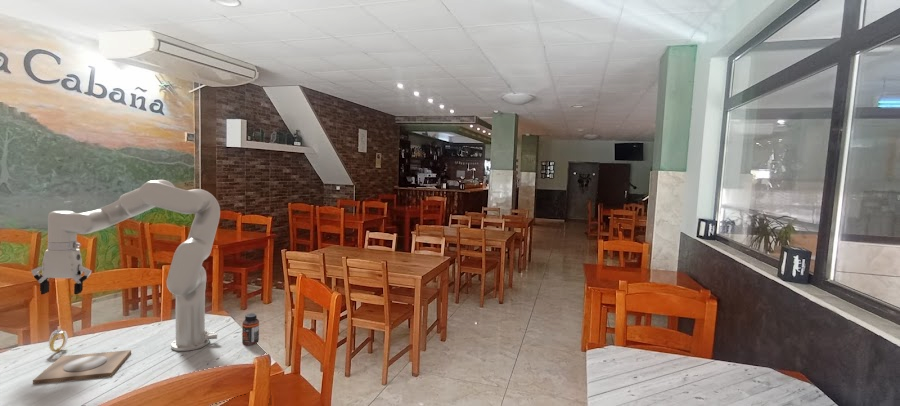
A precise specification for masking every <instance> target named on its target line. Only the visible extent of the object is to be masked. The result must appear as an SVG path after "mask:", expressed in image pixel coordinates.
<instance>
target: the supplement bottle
mask: <svg viewBox="0 0 900 406" xmlns="http://www.w3.org/2000/svg"><path fill="white" fill-rule="evenodd" d="M244 318H245V319H244V320H243V321H242V330H241V331H242V332H241V334H242V335H241V339H242V341H241V343H242V344H243V345H244V346H253V345H256V344H257V343H259V340H260V320H259V319H258V318H257V314H256V313H253V312H251V313H247V314H245V317H244Z"/></svg>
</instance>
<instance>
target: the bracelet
mask: <svg viewBox="0 0 900 406" xmlns="http://www.w3.org/2000/svg"><path fill="white" fill-rule="evenodd" d="M59 336H61V337H62V339H63V340H62V344H61V346H59V347H58V348H56V349H55V342H56V340H57V339H58V337H59ZM68 337H69V336H68V332H67V331H66V330H63V329H62V328H59V329H55V330H54V331H52V332H51V334H50V335H49V340H48V348H49V350H50V351H51V352H54V353H58V352H59V353H60V352H61V350H63V349H64V348H65V347H66V345H67V343H68Z"/></svg>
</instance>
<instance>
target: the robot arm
mask: <svg viewBox="0 0 900 406" xmlns="http://www.w3.org/2000/svg"><path fill="white" fill-rule="evenodd" d="M154 208H158V209H159V208H160V209H163V210H167V211H171V212H175V213H179V214H183V215H192V214H193V215H194V214H195V215H194V218H193V221H192V223H191V226H190V230H189V233H188V237H187V239H186V240H185V241H183V242H182V243H179V245H178V246H177V247H176V250H174V254H173V256H172V261H171V263H170V267H169V270H168V274H167V278H166V287H167V290H168V291H169V292H170V294H173V295H174V296H175V339H174V340H173V341H172V342H171V343H170V348H171V349H172V350H173V351H177V352H187V351H189V352H190V351H193V350H194V351H195V350H197V349H201V348H203V347H205V346H207V345H208V344H209V343H210V340H217V339H218V333H216V332H215V331H214V332H213V331H212V332H208V330H207V328H205V327H206V323H205V321H206V319H205V318H206V317H205V316H206V307H205V306H206V304H205V303H206V285H207V270H206V268H205V267H204V266H203V263H204V261H205V260H207V259H208V258H209V257H210V255H211V253H212V249H213V245H214V242H215V238H216V234H217V230H218V226H219V224H220V223H219V222H220V218H221V207H220V204H219V202H218V199H216V197H215V196H214V195H213V194H212V193H210V192H209V191H207V190H205V189H201V188H195V189H194V188H193V189H188V190H187V189H183V188H179V187H176V186H175V185H174V184H173V183H172V182H171V181H169V180H166V179H157V180H156V179H154V180H149V181H146V182H145V183H143V184H142V185H141V186H140V187H138V188H136V189H133V190H131V191H128V192H125V193H124V194H121V195H120V196H119V199H117V200H116V201H114V202H112V203H109V204H107V205H104V206H102V207H99V208H97V209H94V210H89V211H85V212H75V211H72V210H53V211H50V212H49V213H48V216H47V249H46V250H45V251H44V254H43V259H42V263H41V265H40V266H38V267H36V268H33V269H31V270H30V272H31V274H32V276H33V277H34V279H35V280H37V282H38V283H39V290H40V294H41V295H45V294H47V293H49V292H50V280H49V279H72V280H73V281H74V282H75V283H74V285H73V286H74V288H73V290H74V291H73V293H74V295H76V296H77V295H79V294H81V293H83V292H82V291H83V289H84V286H83V285H84V284H83V283H84V282H85V281H86V280H87V279H88V278H89V277H90V275H91V274H92V272H93V270H91V269H89V268H87V267H85V266H83V258H82V253H81V250H80V247H81V246H82V243H80V242H78V240H77V239H78V237H77V236H78V234H80V235H88V234H92V233H95V232H98V231H101V230H105V229H107V228H110V227H112V226H114V225H117V224H119V223H121V222H124V221H125V220H128V219H130V218H134V217H136V216H138V215H140V214H143V213H145V212H148V211H149V210H152V209H154ZM40 272H41V274H40ZM83 273H84V275H83ZM82 275H83V276H82Z"/></svg>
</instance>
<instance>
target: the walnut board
mask: <svg viewBox="0 0 900 406" xmlns="http://www.w3.org/2000/svg"><path fill="white" fill-rule="evenodd" d="M131 354H132V349H129V350H117V351H116V350H115V351H105V352H94V353H93V352H92V353H81V354H70V355H61V356H60V357H59V358H58V359H56V360H55V361H54V362H53V363H51V365H49V366H48V367H47V368H45V370H43V371H42V372H41V373H40V374H39V375H38V376H37V375H36V377H35V378H34V379H32V385H35V384H37V385H38V384H47V383H56V382H57V383H58V382H66V381H67V382H68V381H78V380H84V379H85V380H86V379H96V378H107V377H112V376H113V375H114V374H115V373H116V372H117V371H118V369H119V368H120V367H121V366H122V365H123V364H124V362H125V361H127V359H128V357H130V355H131Z"/></svg>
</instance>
